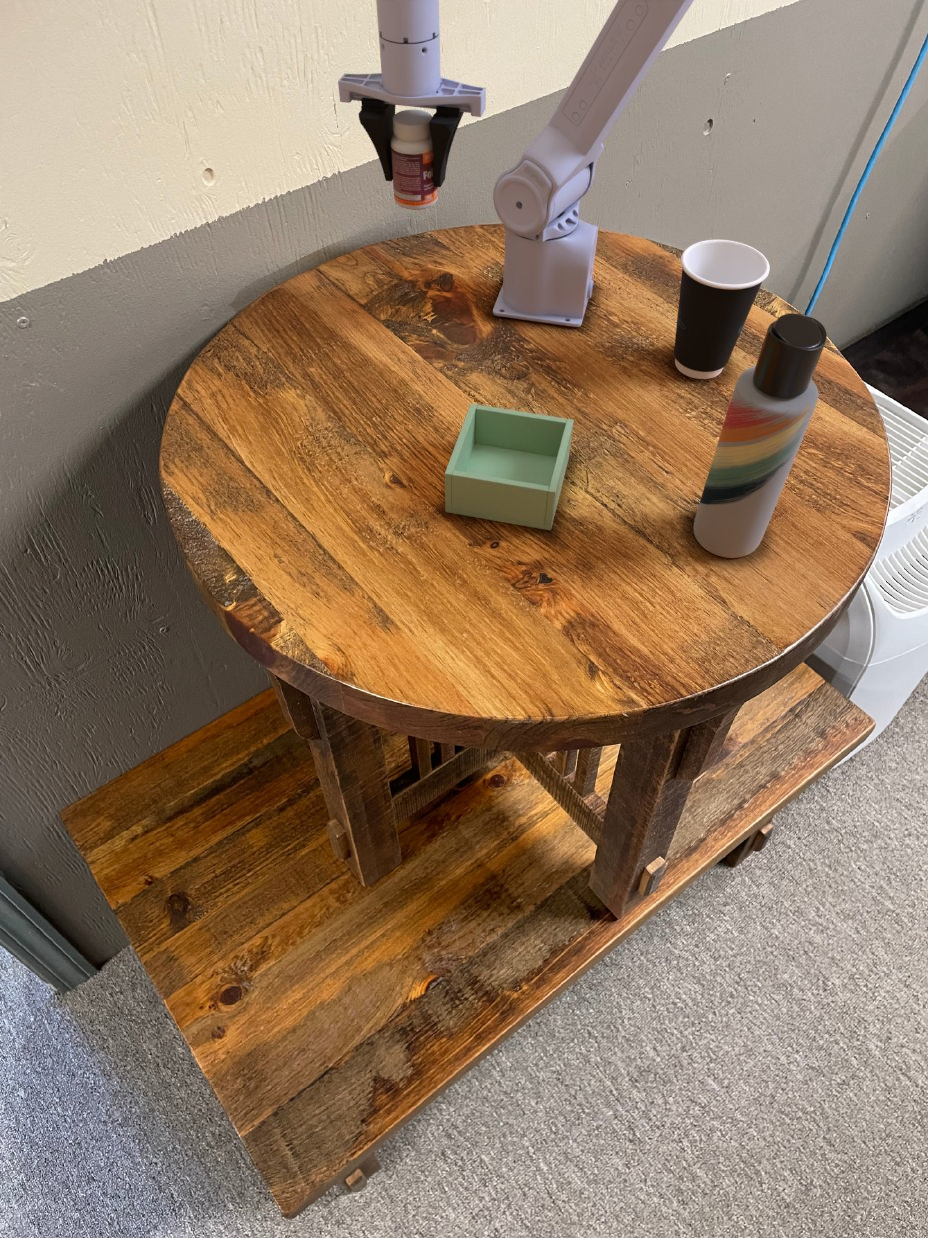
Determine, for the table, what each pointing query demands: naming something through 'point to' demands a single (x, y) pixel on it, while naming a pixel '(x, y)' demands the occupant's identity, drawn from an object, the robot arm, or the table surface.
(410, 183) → the pill bottle
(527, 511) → the sage green tray box
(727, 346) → the dixie cup
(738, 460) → the lotion bottle
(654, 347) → the table surface
